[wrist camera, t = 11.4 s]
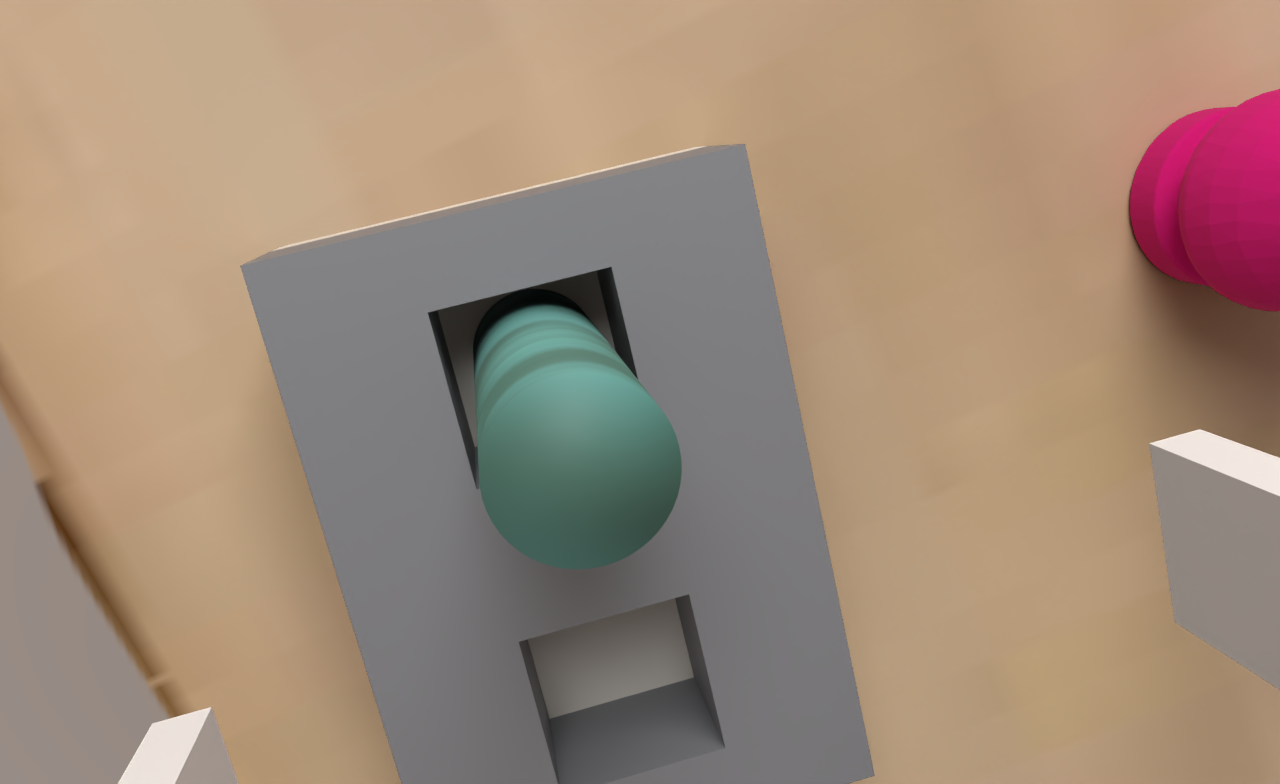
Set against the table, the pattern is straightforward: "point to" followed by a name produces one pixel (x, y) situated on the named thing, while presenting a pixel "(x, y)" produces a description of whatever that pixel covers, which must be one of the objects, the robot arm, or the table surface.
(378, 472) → the hole block
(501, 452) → the pin
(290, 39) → the table surface
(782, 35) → the table surface
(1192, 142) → the pepper mill
